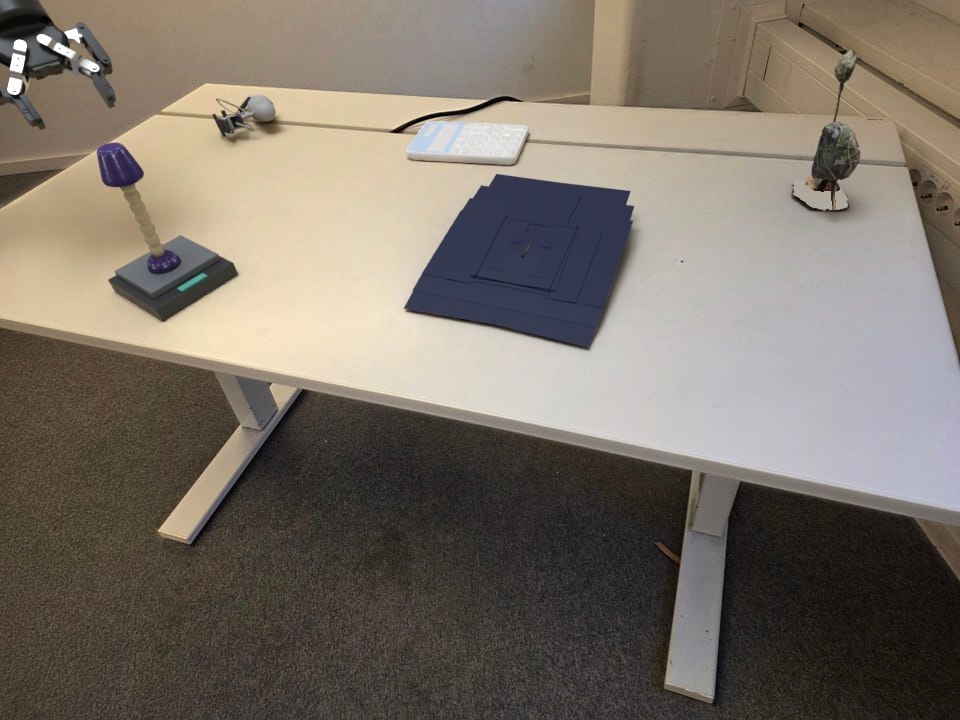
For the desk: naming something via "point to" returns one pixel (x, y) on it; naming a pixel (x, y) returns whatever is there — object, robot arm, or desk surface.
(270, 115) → the clip-on lamp
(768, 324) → the desk surface
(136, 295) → the scale
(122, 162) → the toy lamp
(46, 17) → the robot arm
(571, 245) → the navy flat block
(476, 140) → the calculator
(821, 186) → the grey stone sculpture
